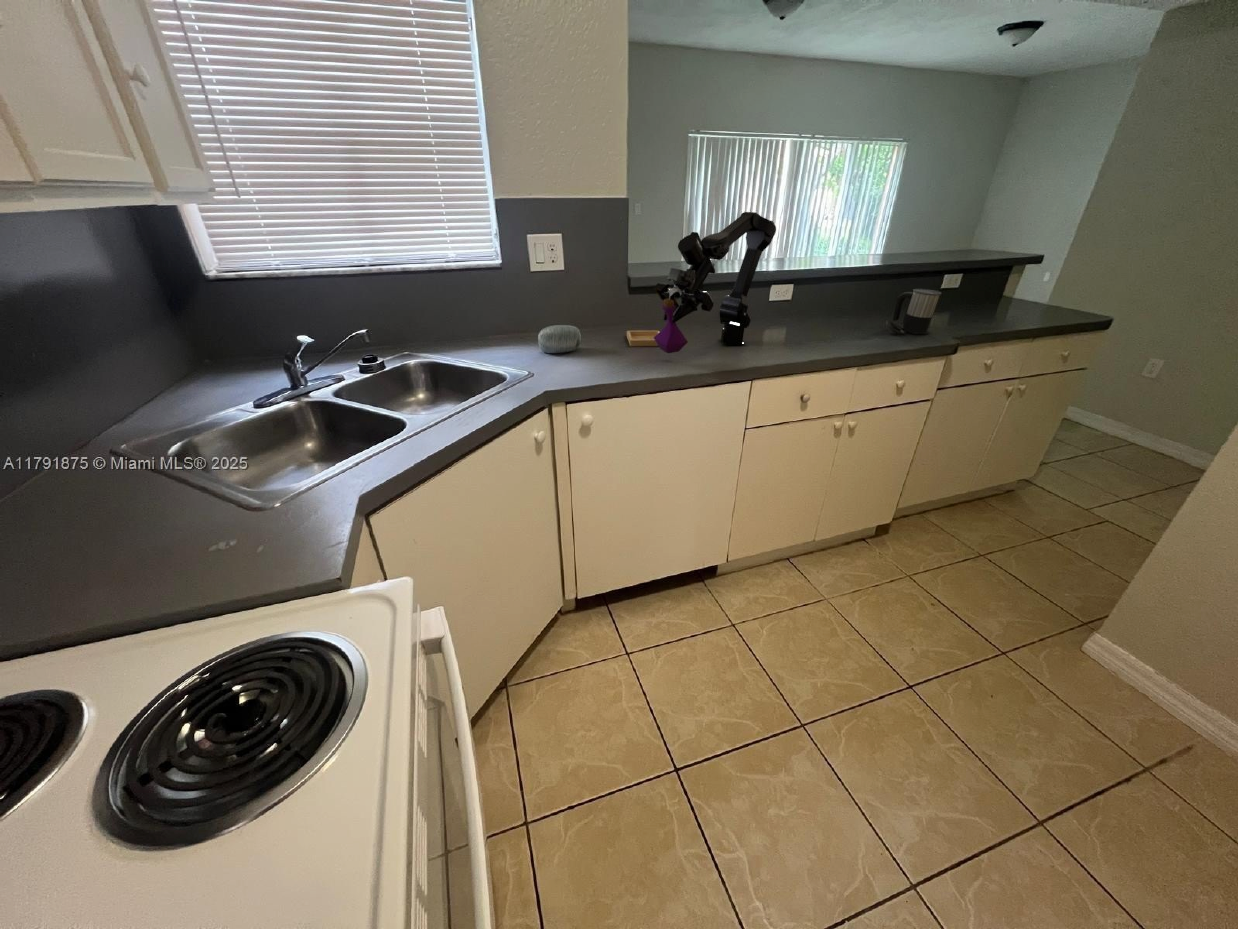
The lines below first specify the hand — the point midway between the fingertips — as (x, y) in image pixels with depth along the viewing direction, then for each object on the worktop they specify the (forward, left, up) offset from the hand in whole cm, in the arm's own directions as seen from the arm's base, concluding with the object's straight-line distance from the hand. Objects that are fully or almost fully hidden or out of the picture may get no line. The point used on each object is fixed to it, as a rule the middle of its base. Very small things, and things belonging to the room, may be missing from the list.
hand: (668, 320), depth 140 cm
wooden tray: (+3, -25, -13) cm, 28 cm away
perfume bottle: (-1, -1, -9) cm, 9 cm away
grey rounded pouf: (+32, -14, -13) cm, 37 cm away
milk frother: (-98, -34, -13) cm, 104 cm away
